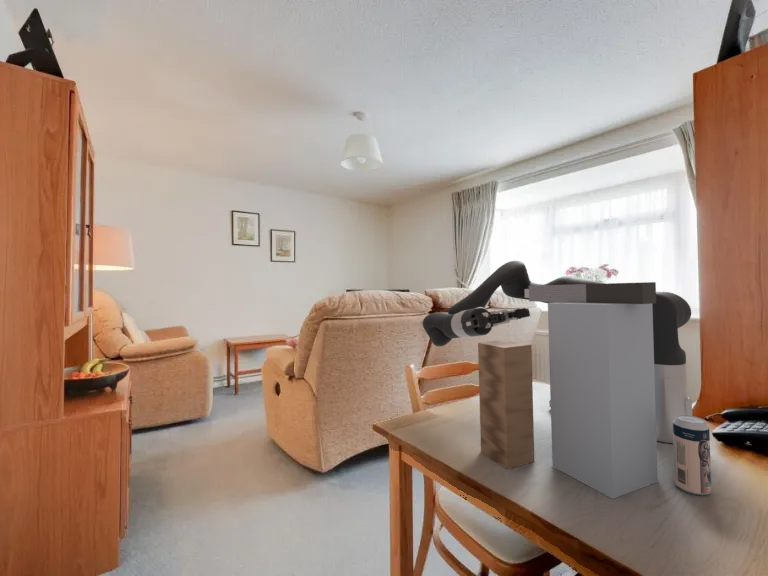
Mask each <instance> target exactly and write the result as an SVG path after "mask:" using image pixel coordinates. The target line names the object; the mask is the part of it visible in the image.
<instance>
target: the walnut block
mask: <svg viewBox="0 0 768 576" xmlns="http://www.w3.org/2000/svg"><path fill="white" fill-rule="evenodd" d="M532 352H533V351H532V344H528V343H523V342H517V341H516V342H515V341H510V340H505V339H502V340H501V339H500V340H492V341H490V340H489V341H481V342H478V343H477V354H478V355H477V356H478V357H477V358H478V387H479V389H478V391H479V392H478V395H479V396H478V397H479V427H480V429H479V430H480V453H481V454H483V455H485V456H486V457H488V458H489V459H492V460H493V461H494V462H496V463H498V464H499V465H500V466H502V467H504V468H505V469H507V470H509V469H513V468H516V467H520V466H522V465H525V464H530V463H533V462H535V461H536V460H535V459H536V458H535V430H534V429H535V425H534V424H535V423H534V399H533V397H534V396H533V393H534V392H533V359H532V358H533V357H532V355H533V353H532Z"/></svg>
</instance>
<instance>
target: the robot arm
mask: <svg viewBox="0 0 768 576" xmlns="http://www.w3.org/2000/svg"><path fill="white" fill-rule="evenodd" d="M573 284H607V283H605V282H601V281H598V280H597V281H596V280H592V279H589V278H588V279H587V278H581V277H576V276H568V275H567V276H561V277H558V278H555V279H554V280H551V281H549V282H547V283H544V284H542V283H536V282H532V281H531V280H530V277H529V273H528V270H527V266H526V265H525V263H524V262H522V261H521V260H511V261H508V262H506V263H504V264H502V265H500V266H499V267H498V268H497V269H496V270H495V271H494V272H493V273H491V275H489V276H488V277H487V278H486V279H485V280H484V281H483V282H482V283H481V284H479V285H478V286H477V288H475V289H474V290H473V291H472V292H470V294H468V295H467V296H466V297H464V298H462V299H461V300H459V301H457V302H456V303H455V304H453V305H452V306H450V307H449V308H448V310H447V313H444V312H432V313H430V314H427V315H426V316H425V317H424V318H423V320H422V327H423V329H424V331H425V332H426V334H427V336H428V337H429V339H430V340H431V343H432V344H433V345H434V346H436V347H443V346H446V345H448V343H450V342H451V341H452V339H459V338H473V337H480V336H481V337H482V336H486V335H488V334H489V333H490V332H491V331H492V328H493V327H498V326H500V325H504V324H509V323H510V322H511V321H514V320H516V321H517V320H521V319H524V318H528V317H531V312H530V309H529V308H528V307H522V308H513V309H511V310H508V309H500V310H497V311H496V310H491V311H489V310H488V309H487V308H486V307H487V304H488V303H489V301H490V300H491V299H492V296H493V295H494V293H495V292H496V291H497V290H498V289H499V288H500V287H501V290H502V292H503V293H504V295H506V296H507V297H509V298H513V299H521V300H528V301H529V298H525V289H529V286H538V285H573ZM542 303H545V304H548V303H557V302H542ZM652 309H653V342H654V375H655V408H656V440H657V442H662V443H667V444H673V420H674V418H675V417H676V416H677V415H690V416H693V401H692V399H691V397H689V396H688V385H687V384H688V382H687V381H688V379H687V354H686V351H685V350H684V349H683V348H682V347H681V344H680V341H679V328H681V327H683V326H685V325H686V324H687V323H688V322H689V321H690V319H691V317H692V308H691V306H690V304H689V303H688V301H687V300H686V299H684V298H683V297H682V296H680V295H678V294H676V293H673V292H668V291H656V303H652Z"/></svg>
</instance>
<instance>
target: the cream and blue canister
mask: <svg viewBox="0 0 768 576" xmlns="http://www.w3.org/2000/svg"><path fill="white" fill-rule="evenodd" d="M710 438H711V436H710V426H709V425H708V424H707V422H706V420H705V419H703V418H701V417H698V416H695V415H692V416H690V415H677V416H676V417H675V418H674V420H673V443H672V445H673V469H674V471H673V473H674V474H673V476H674V484H675V485H676V486H677V487H678V488H680V489H681V490H682V491H684V492H686V493H689V494H691V493H692V494H693V495H696V494H697V495H698V496H705V495H709V494H711V493H712V471H711V470H712V469H711V466H712V465H711V443H710V442H711V439H710ZM699 494H700V495H699ZM697 495H696V496H697Z"/></svg>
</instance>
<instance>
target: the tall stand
mask: <svg viewBox="0 0 768 576" xmlns="http://www.w3.org/2000/svg"><path fill="white" fill-rule="evenodd" d="M547 321H548V322H547V326H548V352H549V353H548V357H549V358H548V360H549V362H548V363H549V391H550V392H549V393H550V400H551V407H550V424H551V425H550V427H551V459H552V460H551V461H552V462H551V463H552V467H553V468H555V469H556V470H559V471H560V472H562V473H564V474H565V475H568V476H569V477H571V478H574V479H576V480H577V481H579V482H581V483H583V484H584V485H587V486H588V487H590V488H592V489H594V490H596V491H598V492H600V493H601V494H603V495H605V496H607V497H609V498H611V499H613V500H614V499H616V498H618V497H621V496H624V495H627V494H630V493H632V492H634V491H637V490H640V489H643V488H645V487H648V486H650V485H653V484H656V483H658V481H659V479H658V446H657V442H658V441H657V440H656V408H655V375H654V342H653V309H652V304H619V303H577V302H557V303H547Z"/></svg>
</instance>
